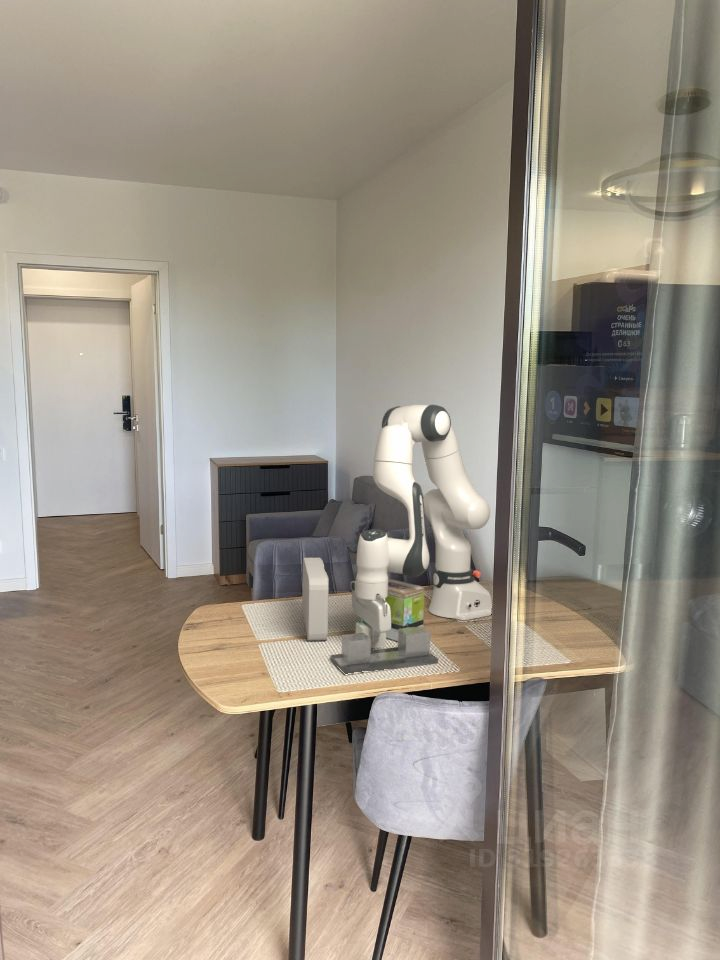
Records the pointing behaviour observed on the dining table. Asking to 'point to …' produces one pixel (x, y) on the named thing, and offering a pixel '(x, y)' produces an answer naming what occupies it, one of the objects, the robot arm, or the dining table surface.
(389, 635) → the tea box
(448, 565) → the robot arm
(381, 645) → the block
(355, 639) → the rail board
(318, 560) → the rounded white slab
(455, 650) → the dining table surface
